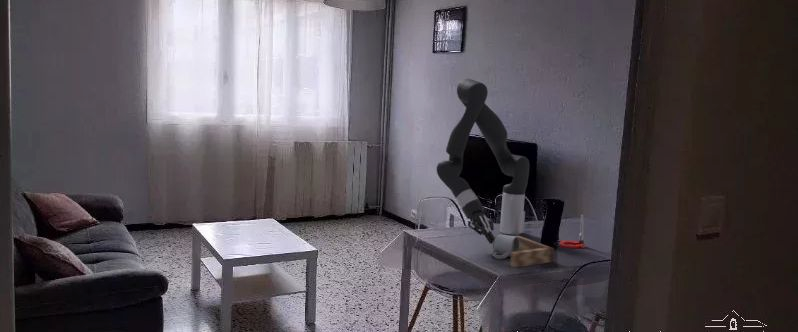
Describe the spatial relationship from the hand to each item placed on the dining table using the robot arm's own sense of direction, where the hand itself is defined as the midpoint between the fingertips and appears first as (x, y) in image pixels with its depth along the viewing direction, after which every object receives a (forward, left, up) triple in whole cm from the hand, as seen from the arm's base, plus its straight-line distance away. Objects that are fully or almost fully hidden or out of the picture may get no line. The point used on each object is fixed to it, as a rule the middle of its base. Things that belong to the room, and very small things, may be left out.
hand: (493, 242), depth 224 cm
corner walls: (-5, +7, -4) cm, 10 cm away
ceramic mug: (-2, +5, -4) cm, 7 cm away
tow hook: (-39, +3, -4) cm, 39 cm away
